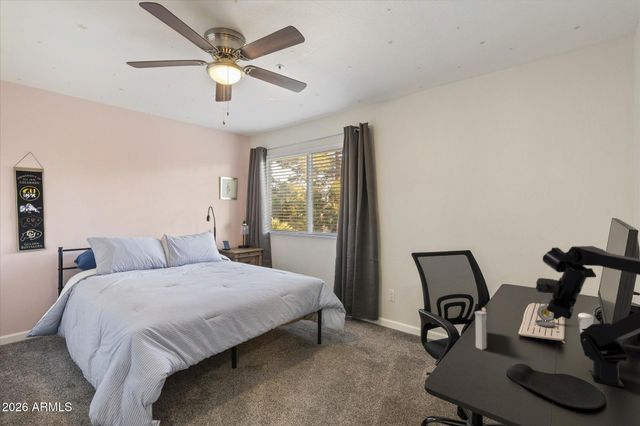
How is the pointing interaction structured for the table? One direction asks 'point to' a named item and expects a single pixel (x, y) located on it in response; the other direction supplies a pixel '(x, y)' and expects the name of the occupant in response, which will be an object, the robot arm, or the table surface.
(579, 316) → the milkshake
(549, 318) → the pocket watch
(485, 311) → the gate
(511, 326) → the table surface
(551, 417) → the table surface
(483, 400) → the table surface
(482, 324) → the gate post
